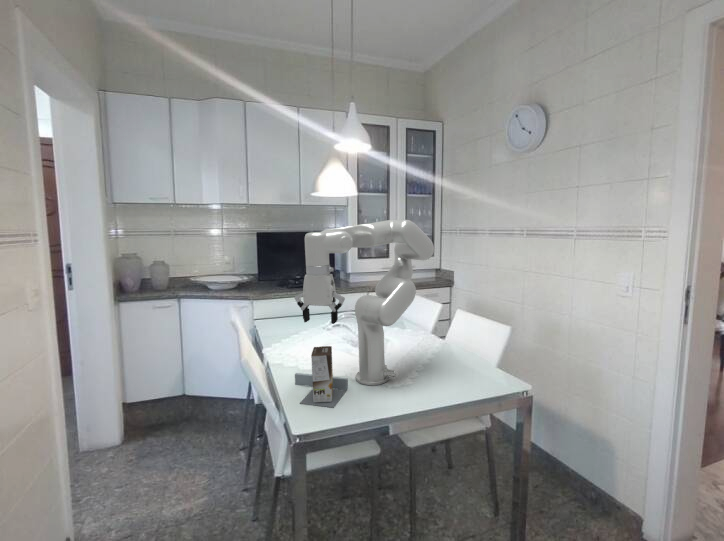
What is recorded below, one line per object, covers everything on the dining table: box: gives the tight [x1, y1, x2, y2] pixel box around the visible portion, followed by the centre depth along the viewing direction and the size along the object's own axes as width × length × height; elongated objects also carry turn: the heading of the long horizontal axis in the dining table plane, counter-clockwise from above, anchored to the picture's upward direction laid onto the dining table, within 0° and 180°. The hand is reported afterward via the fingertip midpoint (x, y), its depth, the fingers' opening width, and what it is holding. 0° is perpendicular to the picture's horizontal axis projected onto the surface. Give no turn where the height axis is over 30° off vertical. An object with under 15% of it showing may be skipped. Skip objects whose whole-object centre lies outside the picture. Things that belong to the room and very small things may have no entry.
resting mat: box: [299, 388, 347, 409], centre depth 131 cm, size 12×12×1 cm
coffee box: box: [310, 345, 334, 403], centre depth 130 cm, size 9×6×16 cm
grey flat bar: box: [294, 372, 349, 391], centre depth 139 cm, size 20×1×4 cm, turn 73°
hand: (320, 321), depth 127 cm, fingers open, 9 cm apart
